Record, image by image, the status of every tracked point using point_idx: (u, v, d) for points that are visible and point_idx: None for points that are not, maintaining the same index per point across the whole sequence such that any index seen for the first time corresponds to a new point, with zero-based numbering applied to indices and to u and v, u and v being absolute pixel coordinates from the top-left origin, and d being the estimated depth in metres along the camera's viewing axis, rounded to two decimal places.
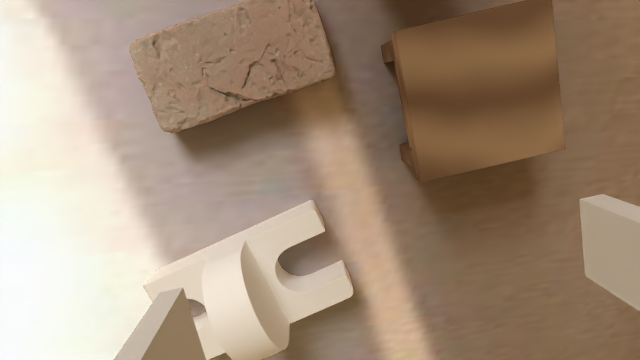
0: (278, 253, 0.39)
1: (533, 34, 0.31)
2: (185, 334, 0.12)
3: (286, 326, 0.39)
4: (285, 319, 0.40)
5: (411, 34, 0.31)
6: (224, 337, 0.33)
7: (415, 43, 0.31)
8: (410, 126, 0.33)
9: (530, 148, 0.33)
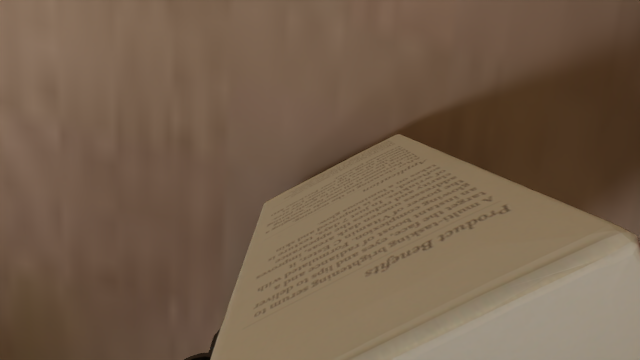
0: None
1: None
2: None
3: None
4: None
5: None
6: None
7: None
8: None
9: None
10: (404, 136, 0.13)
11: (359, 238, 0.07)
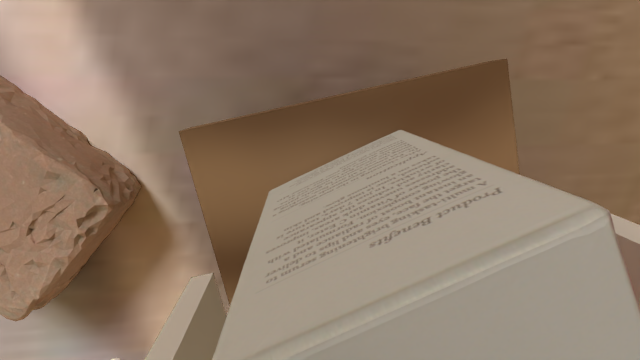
0: None
1: (471, 138, 0.15)
2: (217, 316, 0.13)
3: None
4: None
5: (213, 138, 0.15)
6: None
7: (224, 156, 0.15)
8: None
9: None
10: None
11: (363, 218, 0.08)
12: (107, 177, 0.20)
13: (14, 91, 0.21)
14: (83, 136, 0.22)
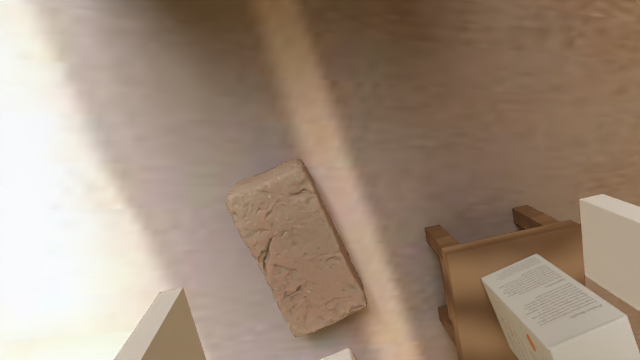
0: None
1: (564, 255, 0.36)
2: (185, 334, 0.12)
3: None
4: None
5: (460, 257, 0.36)
6: None
7: (463, 264, 0.36)
8: (456, 324, 0.38)
9: None
10: (542, 257, 0.35)
11: (559, 307, 0.29)
12: (362, 288, 0.42)
13: None
14: (348, 256, 0.44)
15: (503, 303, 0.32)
